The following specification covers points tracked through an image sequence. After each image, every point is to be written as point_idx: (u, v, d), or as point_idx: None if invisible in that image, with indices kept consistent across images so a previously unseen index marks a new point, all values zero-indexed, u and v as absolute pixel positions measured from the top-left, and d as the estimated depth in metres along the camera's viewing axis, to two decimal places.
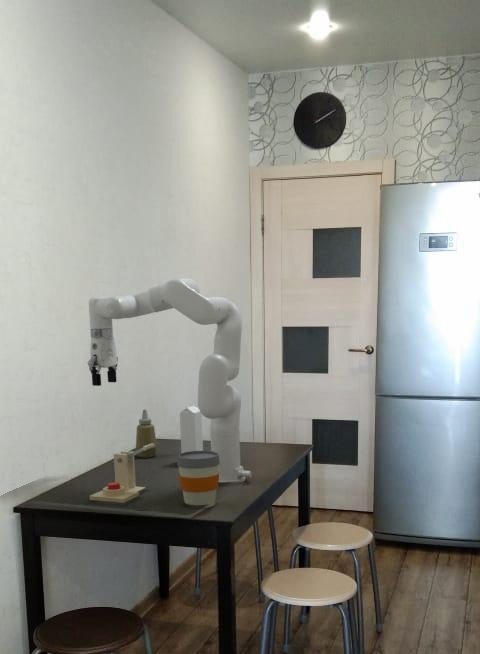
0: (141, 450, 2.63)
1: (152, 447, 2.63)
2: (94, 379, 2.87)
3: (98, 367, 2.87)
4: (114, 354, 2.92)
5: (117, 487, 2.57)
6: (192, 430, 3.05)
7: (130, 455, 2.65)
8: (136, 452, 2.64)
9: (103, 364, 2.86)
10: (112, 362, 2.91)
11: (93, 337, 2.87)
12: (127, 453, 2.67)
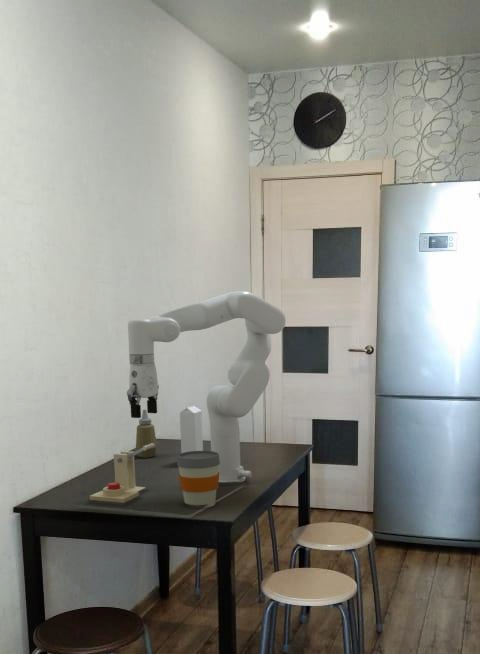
0: (141, 450, 2.63)
1: (152, 447, 2.63)
2: (133, 411, 2.56)
3: (138, 397, 2.56)
4: (155, 382, 2.62)
5: (117, 487, 2.57)
6: (192, 430, 3.05)
7: (130, 455, 2.65)
8: (136, 452, 2.64)
9: (143, 394, 2.56)
10: (153, 391, 2.61)
11: (132, 364, 2.56)
12: (127, 453, 2.67)
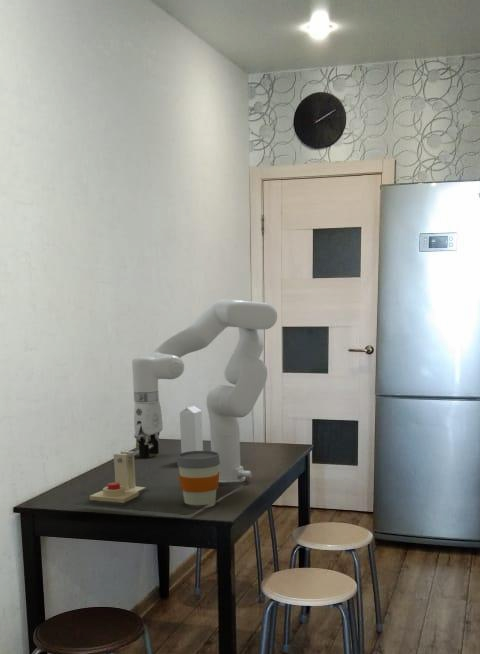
0: None
1: (152, 447, 2.63)
2: (142, 450, 2.59)
3: (145, 437, 2.58)
4: (160, 419, 2.62)
5: (117, 487, 2.57)
6: (192, 430, 3.05)
7: (130, 455, 2.65)
8: (136, 452, 2.64)
9: (148, 432, 2.56)
10: (158, 428, 2.61)
11: (137, 401, 2.57)
12: (127, 453, 2.67)
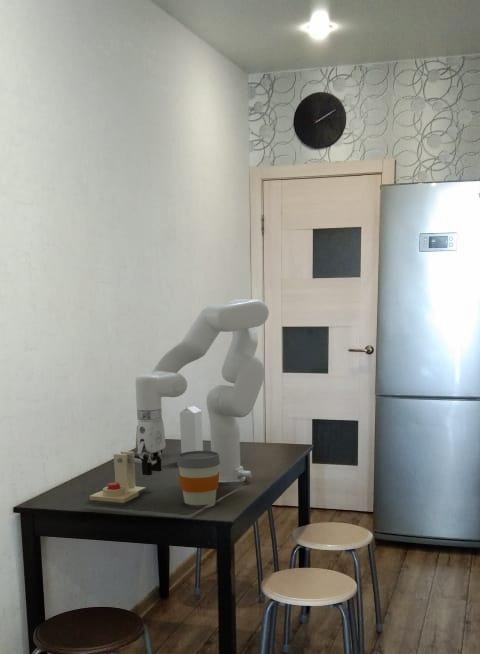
0: None
1: None
2: (144, 468, 2.59)
3: (148, 455, 2.58)
4: (162, 437, 2.63)
5: (117, 487, 2.57)
6: (192, 430, 3.05)
7: (131, 460, 2.65)
8: (138, 461, 2.64)
9: (151, 450, 2.57)
10: (161, 445, 2.62)
11: (140, 419, 2.57)
12: (129, 455, 2.66)
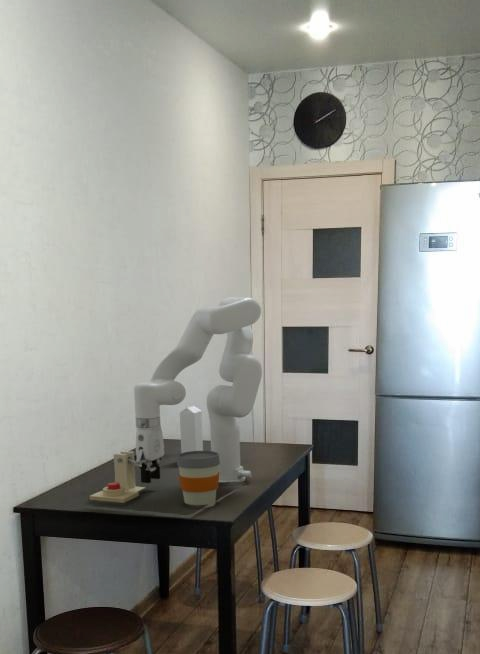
0: None
1: (153, 471, 2.64)
2: (143, 476, 2.60)
3: (147, 463, 2.59)
4: (161, 444, 2.64)
5: (117, 487, 2.57)
6: (192, 430, 3.05)
7: (131, 462, 2.65)
8: (137, 465, 2.64)
9: (150, 457, 2.58)
10: (159, 453, 2.63)
11: (139, 427, 2.58)
12: (129, 456, 2.66)
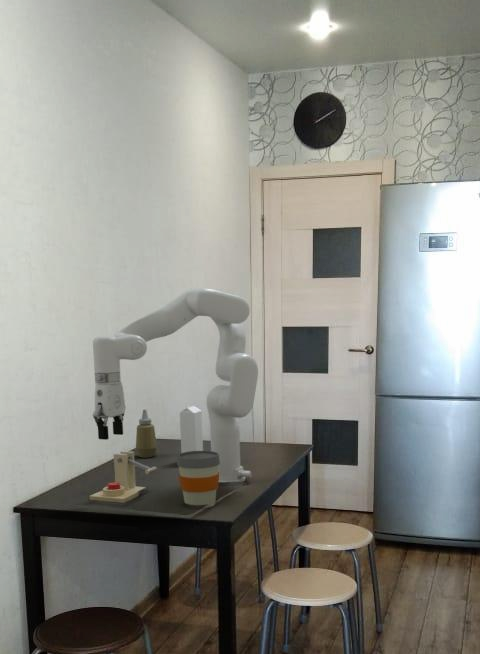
0: (143, 467, 2.64)
1: (153, 471, 2.64)
2: (100, 432, 2.50)
3: (105, 418, 2.49)
4: (122, 401, 2.55)
5: (117, 487, 2.57)
6: (192, 430, 3.05)
7: (131, 462, 2.65)
8: (137, 465, 2.64)
9: (109, 413, 2.49)
10: (120, 410, 2.54)
11: (98, 382, 2.49)
12: (129, 456, 2.66)
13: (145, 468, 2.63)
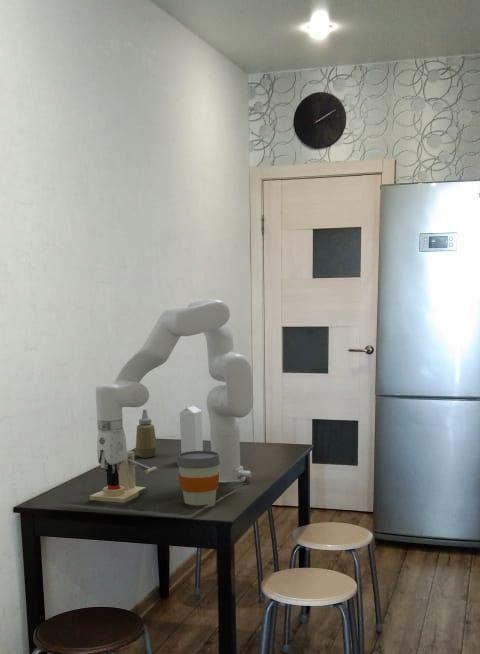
0: (143, 467, 2.64)
1: (153, 471, 2.64)
2: (109, 479, 2.56)
3: (111, 467, 2.54)
4: (124, 447, 2.57)
5: (117, 488, 2.57)
6: (192, 430, 3.05)
7: (131, 462, 2.65)
8: (137, 465, 2.64)
9: (111, 461, 2.51)
10: (122, 457, 2.56)
11: (100, 430, 2.52)
12: (129, 456, 2.66)
13: (145, 468, 2.63)
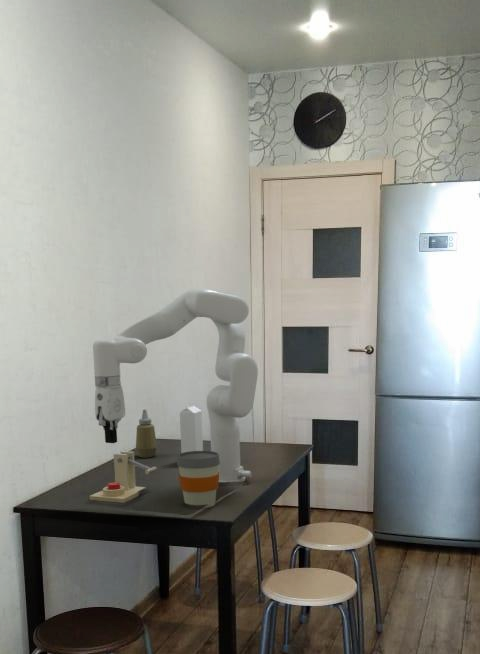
0: (143, 467, 2.64)
1: (153, 471, 2.64)
2: (107, 436, 2.54)
3: (109, 423, 2.52)
4: (122, 404, 2.55)
5: (117, 487, 2.57)
6: (192, 430, 3.05)
7: (131, 462, 2.65)
8: (137, 465, 2.64)
9: (109, 417, 2.49)
10: (120, 413, 2.54)
11: (98, 386, 2.49)
12: (129, 456, 2.66)
13: (145, 468, 2.63)
